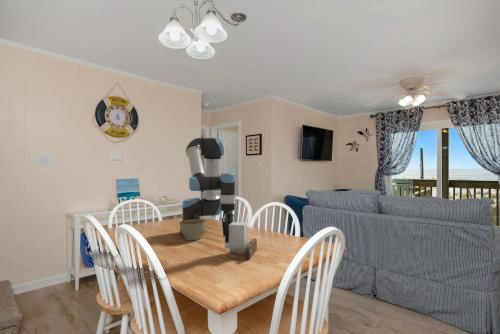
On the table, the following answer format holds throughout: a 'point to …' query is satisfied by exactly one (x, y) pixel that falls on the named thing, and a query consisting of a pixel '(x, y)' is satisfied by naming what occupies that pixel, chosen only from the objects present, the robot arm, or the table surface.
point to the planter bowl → (192, 228)
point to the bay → (248, 253)
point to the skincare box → (237, 237)
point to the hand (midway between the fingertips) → (227, 248)
